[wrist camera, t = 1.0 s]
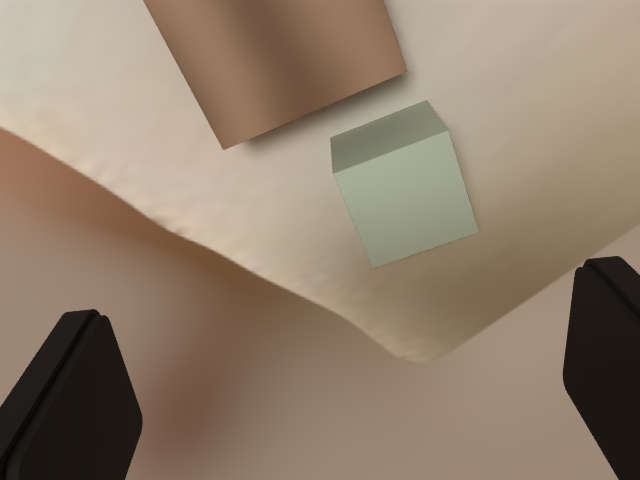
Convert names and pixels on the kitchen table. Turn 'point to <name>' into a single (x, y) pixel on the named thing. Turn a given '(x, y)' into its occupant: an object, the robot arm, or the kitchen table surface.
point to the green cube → (402, 184)
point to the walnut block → (275, 57)
